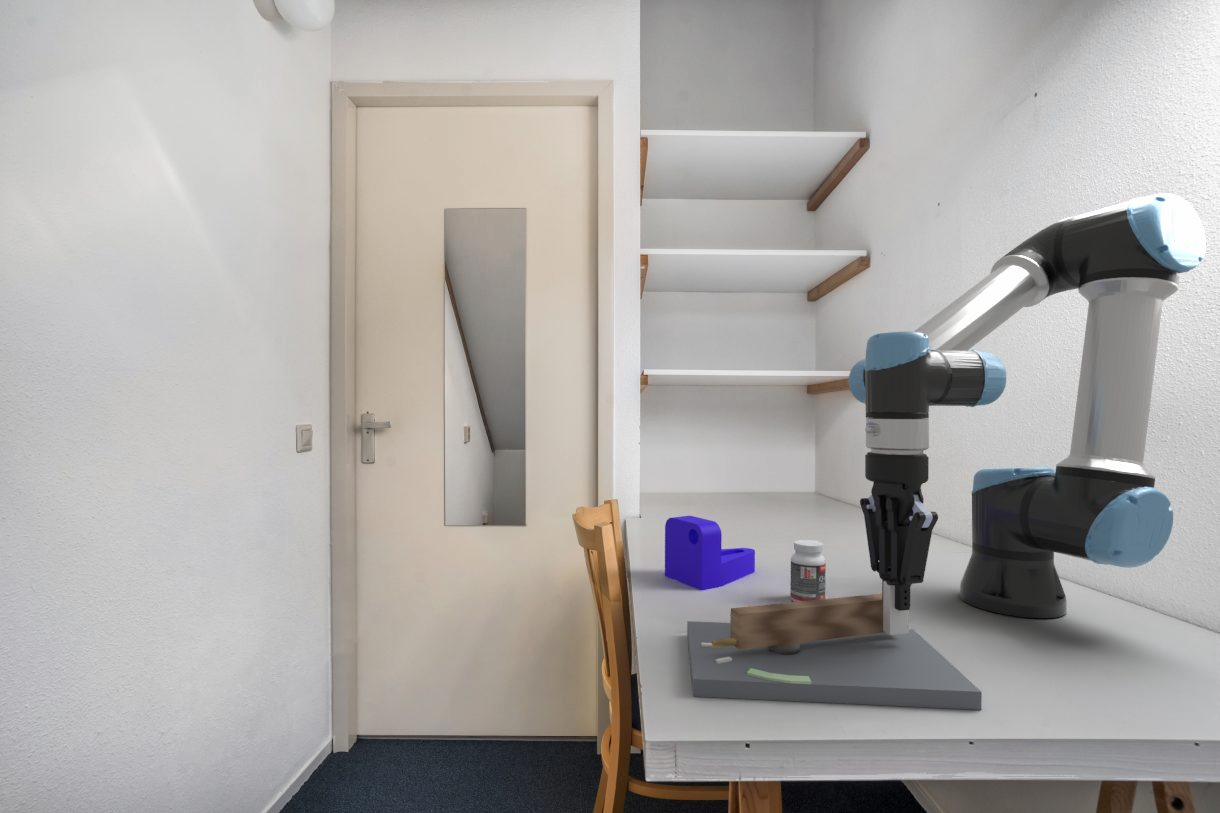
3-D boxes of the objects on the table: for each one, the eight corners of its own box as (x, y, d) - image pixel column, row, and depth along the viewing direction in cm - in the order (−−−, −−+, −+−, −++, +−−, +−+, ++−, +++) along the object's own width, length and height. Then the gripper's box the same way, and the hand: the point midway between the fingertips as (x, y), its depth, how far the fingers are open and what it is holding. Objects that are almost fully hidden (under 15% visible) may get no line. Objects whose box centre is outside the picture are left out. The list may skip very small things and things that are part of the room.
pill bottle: (827, 607, 104) (828, 547, 104) (791, 605, 105) (792, 545, 105) (822, 597, 109) (823, 540, 109) (789, 594, 110) (789, 538, 110)
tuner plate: (913, 643, 88) (913, 627, 88) (981, 709, 69) (981, 689, 69) (687, 635, 91) (687, 619, 91) (693, 696, 72) (693, 676, 72)
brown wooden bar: (886, 629, 88) (886, 591, 88) (907, 640, 84) (907, 599, 84) (706, 650, 80) (706, 608, 80) (720, 663, 76) (720, 618, 76)
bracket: (702, 591, 112) (702, 525, 112) (664, 576, 122) (665, 516, 122) (772, 576, 122) (772, 516, 122) (732, 564, 131) (733, 508, 131)
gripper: (842, 448, 88) (842, 617, 88) (902, 455, 75) (902, 653, 75) (891, 447, 89) (890, 613, 89) (957, 455, 76) (957, 649, 76)
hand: (895, 631), depth 82 cm, fingers closed
